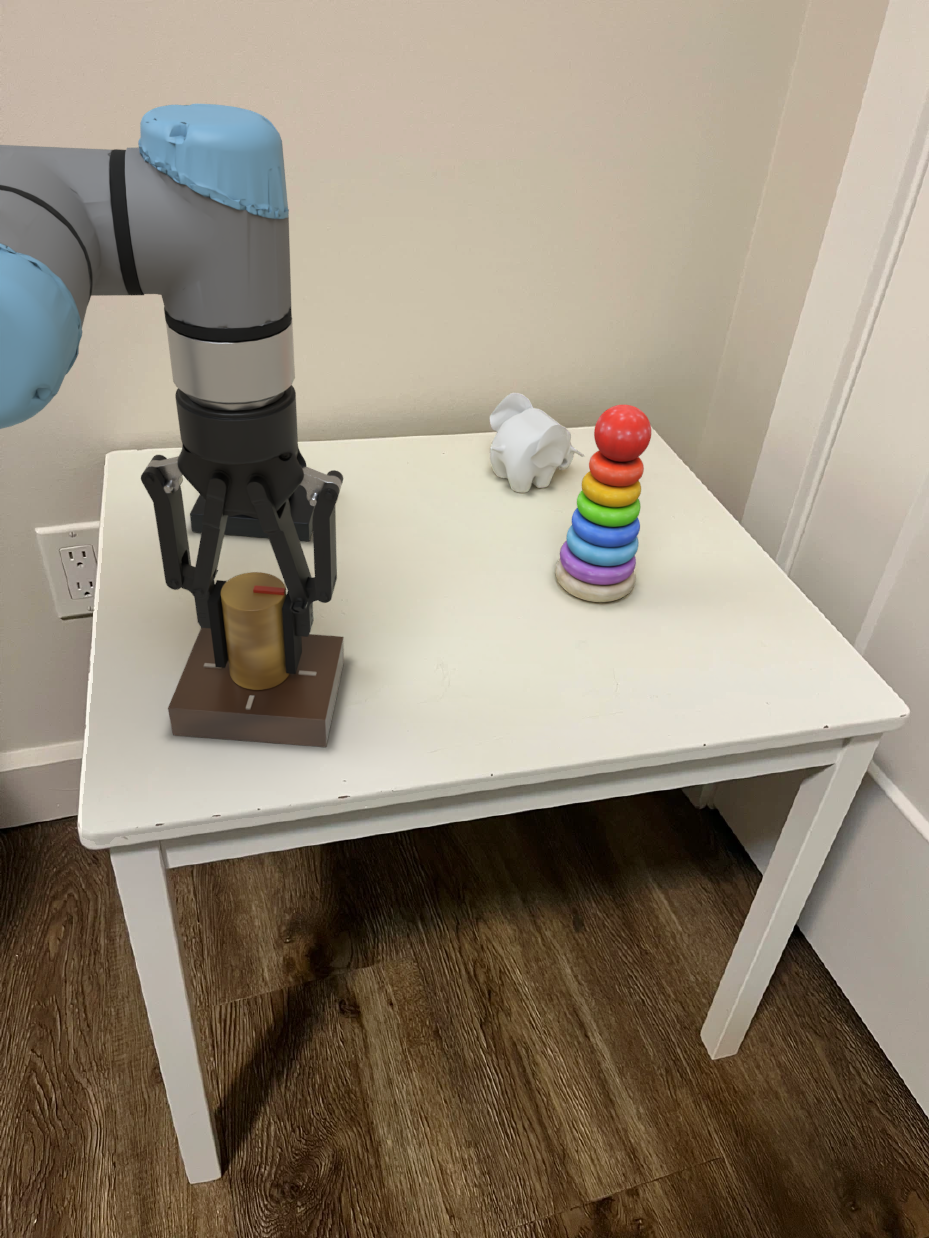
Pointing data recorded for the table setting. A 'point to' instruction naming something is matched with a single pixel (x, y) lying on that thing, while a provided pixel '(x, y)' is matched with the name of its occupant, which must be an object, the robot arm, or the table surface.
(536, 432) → the elephant figurine
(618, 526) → the stacking toy
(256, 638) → the lock knob
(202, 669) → the plate
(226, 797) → the table surface
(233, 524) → the block
